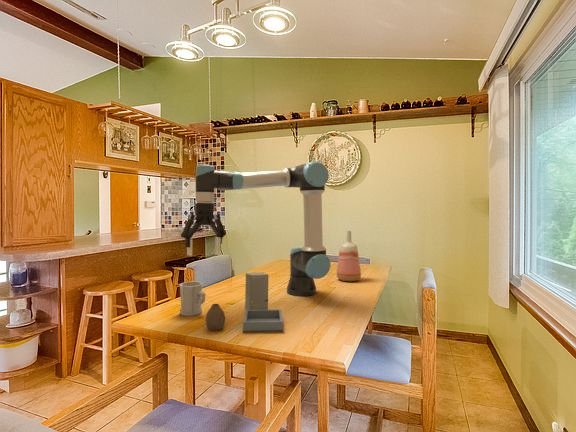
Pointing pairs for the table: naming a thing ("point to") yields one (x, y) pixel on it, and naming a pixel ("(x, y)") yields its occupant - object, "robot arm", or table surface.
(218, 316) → the vase
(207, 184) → the robot arm
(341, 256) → the pink tapered bottle
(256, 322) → the bin
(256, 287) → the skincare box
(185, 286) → the cup
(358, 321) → the table surface
